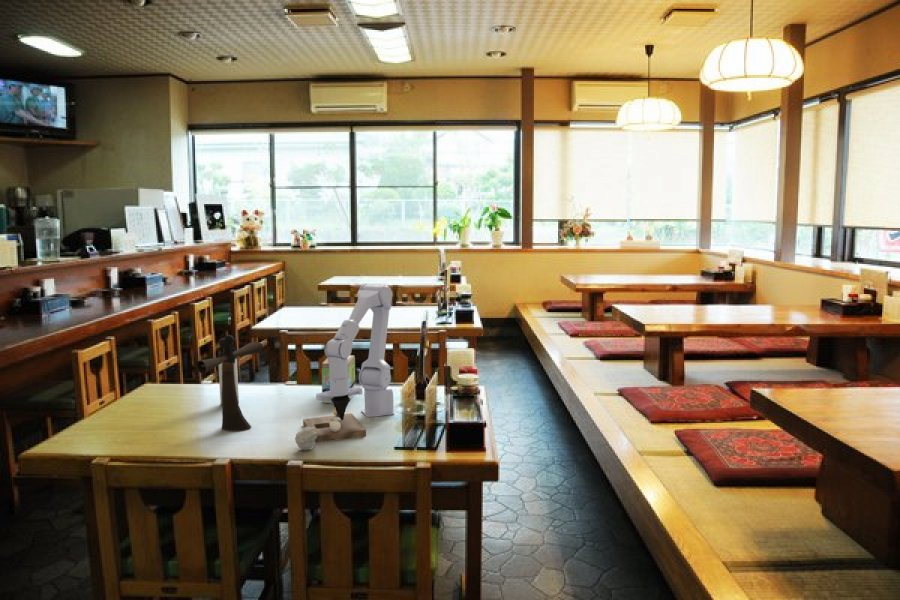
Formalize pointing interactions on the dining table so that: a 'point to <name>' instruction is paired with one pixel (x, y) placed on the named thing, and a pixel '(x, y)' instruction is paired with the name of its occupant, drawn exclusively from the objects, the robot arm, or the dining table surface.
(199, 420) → the dining table surface
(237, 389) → the travel mug
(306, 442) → the grey rounded lump
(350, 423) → the walnut board
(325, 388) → the tea box
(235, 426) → the t-shaped wooden sculpture
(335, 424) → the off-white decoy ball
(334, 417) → the steel ball
